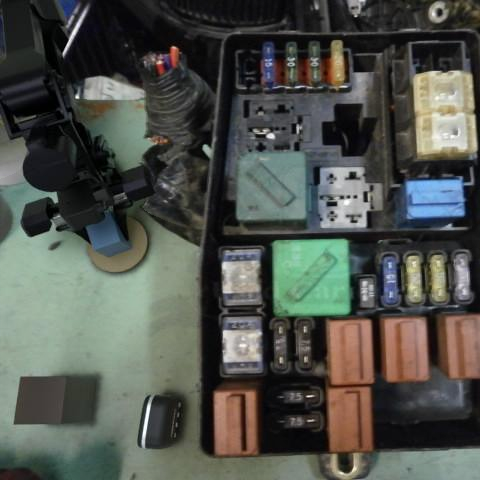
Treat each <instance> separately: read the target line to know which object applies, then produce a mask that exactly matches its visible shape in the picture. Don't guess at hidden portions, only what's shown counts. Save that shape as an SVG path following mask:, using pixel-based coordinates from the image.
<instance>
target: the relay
mask: <svg viewBox="0 0 480 480" xmlns="http://www.w3.org/2000/svg"><path fill="white" fill-rule="evenodd" d="M104 213H105V219H104V220H103V221H102V222H100V223H98V224H92V225H89V226H86V229H87V232H88V235H89V238H90V241H91V244H92V247H93V250H94V251H96V252H98V253H100V254H102V255H104V256H107V257H110V256H113V255H116V254H119V253H122V252H124V251H127V250H130V249H132V246H131V243H130V240H129V241H126V239H125V237H124V236H123V234H122V231H121V228H120V226H119V223H118V221H117V218H116V216H115V214H114V213H113V211H112V210H110V209H108V210H107V211H104Z"/></svg>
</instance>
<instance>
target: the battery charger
mask: <svg viewBox="0 0 480 480" xmlns="http://www.w3.org/2000/svg"><path fill="white" fill-rule="evenodd" d="M183 410H184V401H183V400H182V398H180V397H178V396H175V395H171V394H167V395H165V394H162V393H153V394H148V395H146V397H145V398H144V401H143V403H142V408H141V415H140V419H139V426H138V432H137V440H136V441H137V442H136V443H137V446H138V448H140V449H143V450H164V449H168V448H170V447H172V445H173V443H174V442H176V441H177V440H178V438H179V435H180V430H181V423H182V418H183V417H182V416H183Z"/></svg>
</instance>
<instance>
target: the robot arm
mask: <svg viewBox="0 0 480 480" xmlns="http://www.w3.org/2000/svg"><path fill="white" fill-rule="evenodd" d="M0 19H1V21H2V32H3V33H2V34H3V43H4V54H5V57H4V59H3V60H2V61H1V62H0V117H1V119H2V123H3V125H4V128H5V131H6V133H7V134H6V135H7V137H8V139H9V140H10V141H13V140H17V139H21V138H23V139H24V141H25V143H24V145H25V147H26V152H25V155H24V159H23V162H22V167H21V170H22V175H23V178H24V179H25V181H26V182H27V183H28V184H29V185H30V186H31V187H33V188H34V189H36V190H38V191H41V192H45V193H56V199H57V202H55V201H54V199H53V198H52V197H50V196H45V197H43V198H40V199H36V200H33V201H31V202H27V203H25V205H24V207H23V210H22V214H21V218H20V222H19V224H20V226H21V229H22V230H23V232H24V233H25V235H26V236H27V237H28V238H34V237H37V236H40V235H43V234H46V233H48V232H50V231H51V228H52V226H53V225H54V226H55V231H56V232H58V233H61V232H70V233H73V234H75V235H77V236H78V237H80V239H82V240H84V241H85V242H86V243H87V244H88V243H89V244H90V245H92V244H91V241H90V238H89V235H88V232H87V229H86V226H89V225H92V224H98V223H100V222H102V221H103V220H104V219H105V213H104V212H106V211H109V208H110V207H111V208H112V212H113V213H114V214H115V216H116V218H117V221H118V223H119V226H120V228H121V231H122V234H123V236H124V237H125V239H126V241H129V232H128V224H127V217H128V215H127V214H128V209H131V208H132V207H133V206H134V202H135V203H136V202H139V201H142V200H145V199H147V198H150V197H153V196H154V195H155V194H156V187H155V179H154V176H153V174H152V172H151V169H150V168H149V167H148V166H146V165H145V164H141V165H137V166H135V167H133V168H129V169H126V170H123V171H121V172H119V171H118V169H117V168H116V166H115V158H116V157H117V154H116V151H115V150H114V149H113V148H112V147H110V145H109V143H108V140H107V139H106V138H105V136H104V135H103V134H98V135H94V134H93V133H92V132H91V131H90V130H89V128H87V127H86V126H85V124H83V120H82V116H81V113H80V110H79V107H78V106H79V105H78V102H77V99H76V95H75V92H74V89H73V86H72V82H71V79H70V75H69V72H68V69H67V65H66V61H65V58H64V52H65V49H66V48H67V45H68V43H69V41H70V38H69V34H68V33H69V32H68V29H67V26H68V25H69V21H68V18H67V15H66V13H65V11H64V8H63V7H62V5H61V3H60V2H59V1H58V0H0ZM31 117H32V118H31ZM27 118H28V119H27ZM15 119H16V120H19V121H18V122H16V120H15ZM24 119H25V120H24Z"/></svg>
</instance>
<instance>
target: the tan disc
mask: <svg viewBox="0 0 480 480" xmlns="http://www.w3.org/2000/svg"><path fill="white" fill-rule="evenodd" d="M127 224H128V232H129V240H130V243H131V246H132V249H130V250H127V251H124V252H122V253H119V254H116V255H113V256H110V257H107V256H104V255H102V254H100V253H98V252H96V251H94V250H93V247H92V245H90V244H89V243H88V242H87V246H86V248H87V254H88V257H89V259H90V260H91V262H92V263H93V264H94V265H95V266H96V267H97V268H99V269H100V270H103V271H105V272H110V273H124V272H127V271H129V270H132V269H134V268H135V267H136V266H138V265H139V264H140V263H141V262H142V260H143V259H144V257H145V256H146V254H147V250H148V246H149V242H148V240H149V239H148V236H147V232H146V230H145V228H144V226H143V225H142V224H141V223H140V222H139V221H138V220H137V219H134V218H133V217H131V216H127Z"/></svg>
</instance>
